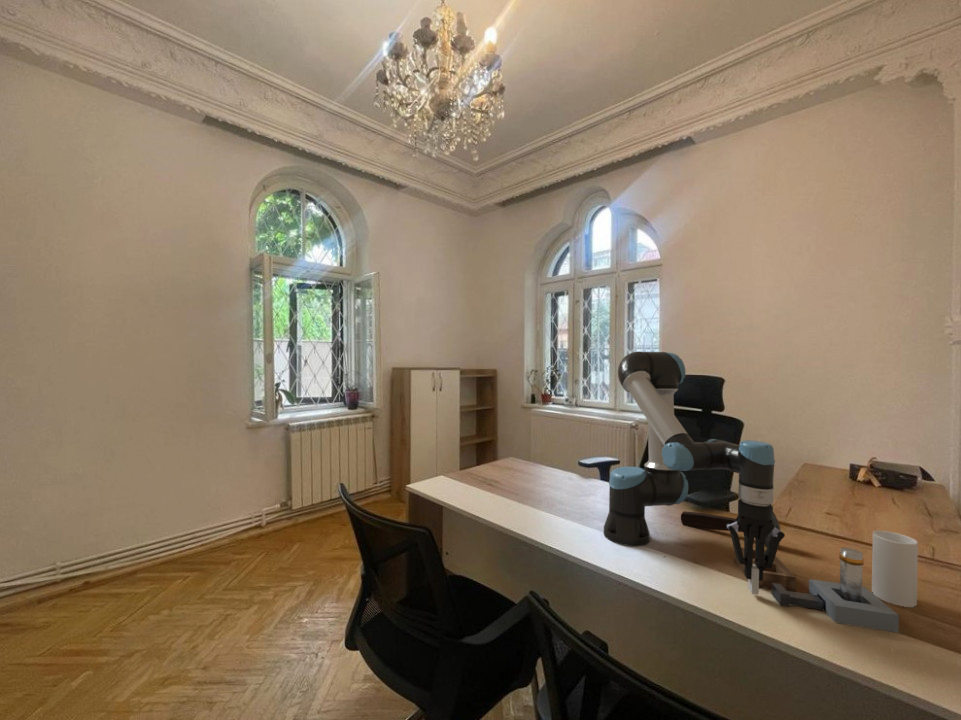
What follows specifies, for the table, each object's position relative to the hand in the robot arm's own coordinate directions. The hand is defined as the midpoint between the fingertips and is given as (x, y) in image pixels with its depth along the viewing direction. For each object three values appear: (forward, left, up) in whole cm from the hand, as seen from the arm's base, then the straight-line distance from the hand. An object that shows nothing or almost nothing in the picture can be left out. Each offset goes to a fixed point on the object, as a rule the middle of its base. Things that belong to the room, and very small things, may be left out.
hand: (753, 591), depth 104 cm
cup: (+36, +11, -2) cm, 37 cm away
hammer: (+6, +41, -2) cm, 41 cm away
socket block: (+21, 0, -1) cm, 21 cm away
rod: (+21, 0, -1) cm, 21 cm away
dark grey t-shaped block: (+10, 0, -1) cm, 10 cm away
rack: (+7, +13, -1) cm, 15 cm away
